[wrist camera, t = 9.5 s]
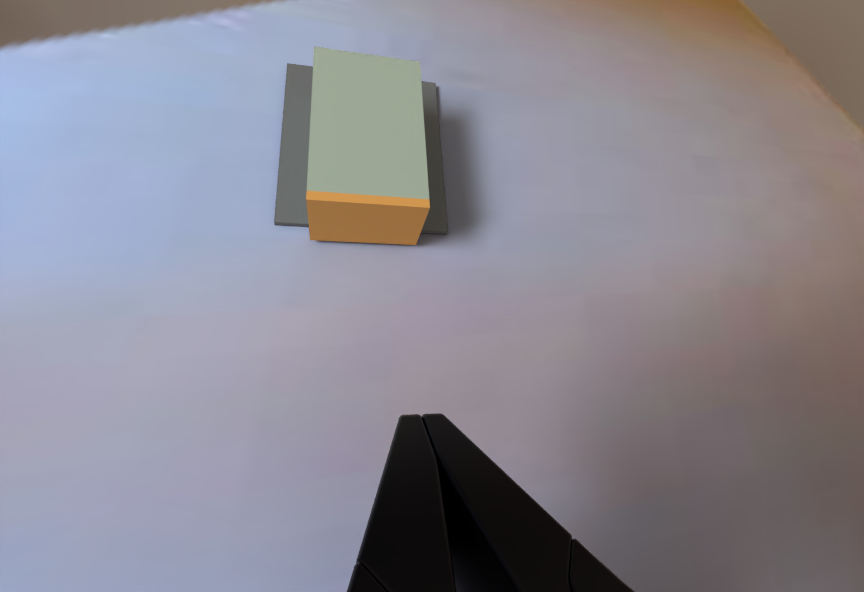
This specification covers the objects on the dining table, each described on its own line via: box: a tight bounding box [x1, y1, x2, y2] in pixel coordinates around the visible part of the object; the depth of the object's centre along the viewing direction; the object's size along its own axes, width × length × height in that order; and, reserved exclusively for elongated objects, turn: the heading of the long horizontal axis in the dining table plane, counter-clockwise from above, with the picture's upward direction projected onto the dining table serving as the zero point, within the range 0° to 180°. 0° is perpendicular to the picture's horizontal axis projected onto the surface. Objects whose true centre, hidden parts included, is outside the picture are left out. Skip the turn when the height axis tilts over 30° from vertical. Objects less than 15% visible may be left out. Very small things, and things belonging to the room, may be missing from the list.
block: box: [306, 47, 430, 245], centre depth 24 cm, size 4×6×10 cm
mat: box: [274, 63, 448, 234], centre depth 27 cm, size 12×10×1 cm
